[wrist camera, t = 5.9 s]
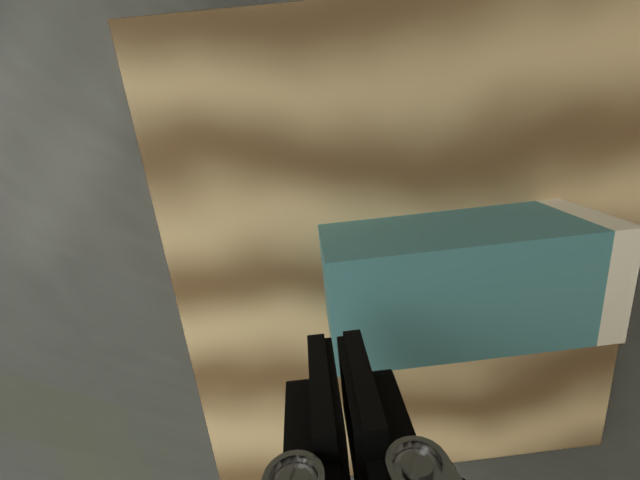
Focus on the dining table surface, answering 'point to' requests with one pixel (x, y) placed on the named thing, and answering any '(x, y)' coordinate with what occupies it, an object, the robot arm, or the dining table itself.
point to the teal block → (480, 282)
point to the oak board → (374, 185)
